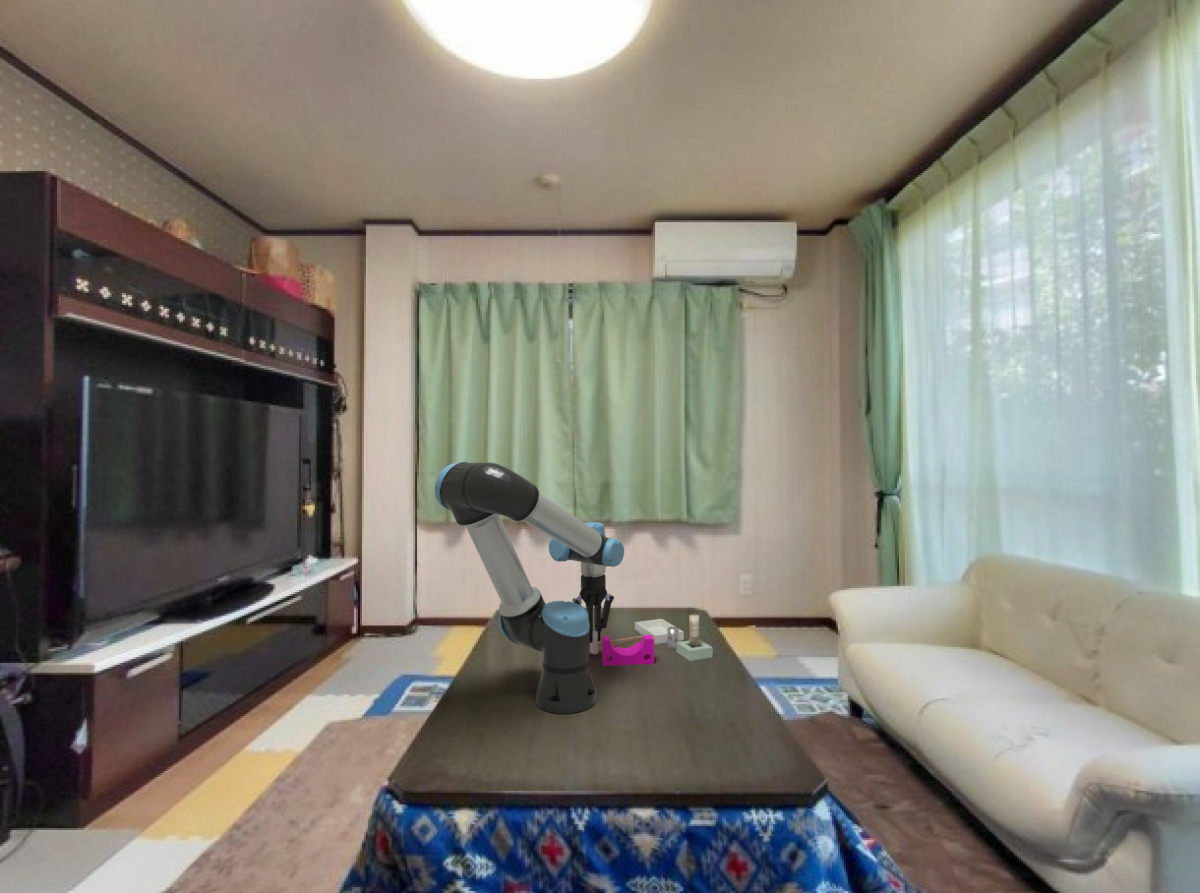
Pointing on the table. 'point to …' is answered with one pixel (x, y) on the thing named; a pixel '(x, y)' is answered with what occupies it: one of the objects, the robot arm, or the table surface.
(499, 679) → the table surface
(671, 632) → the cylinder
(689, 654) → the socket
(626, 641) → the brown wooden bar
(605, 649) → the toy block
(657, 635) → the tray
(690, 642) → the dowel
